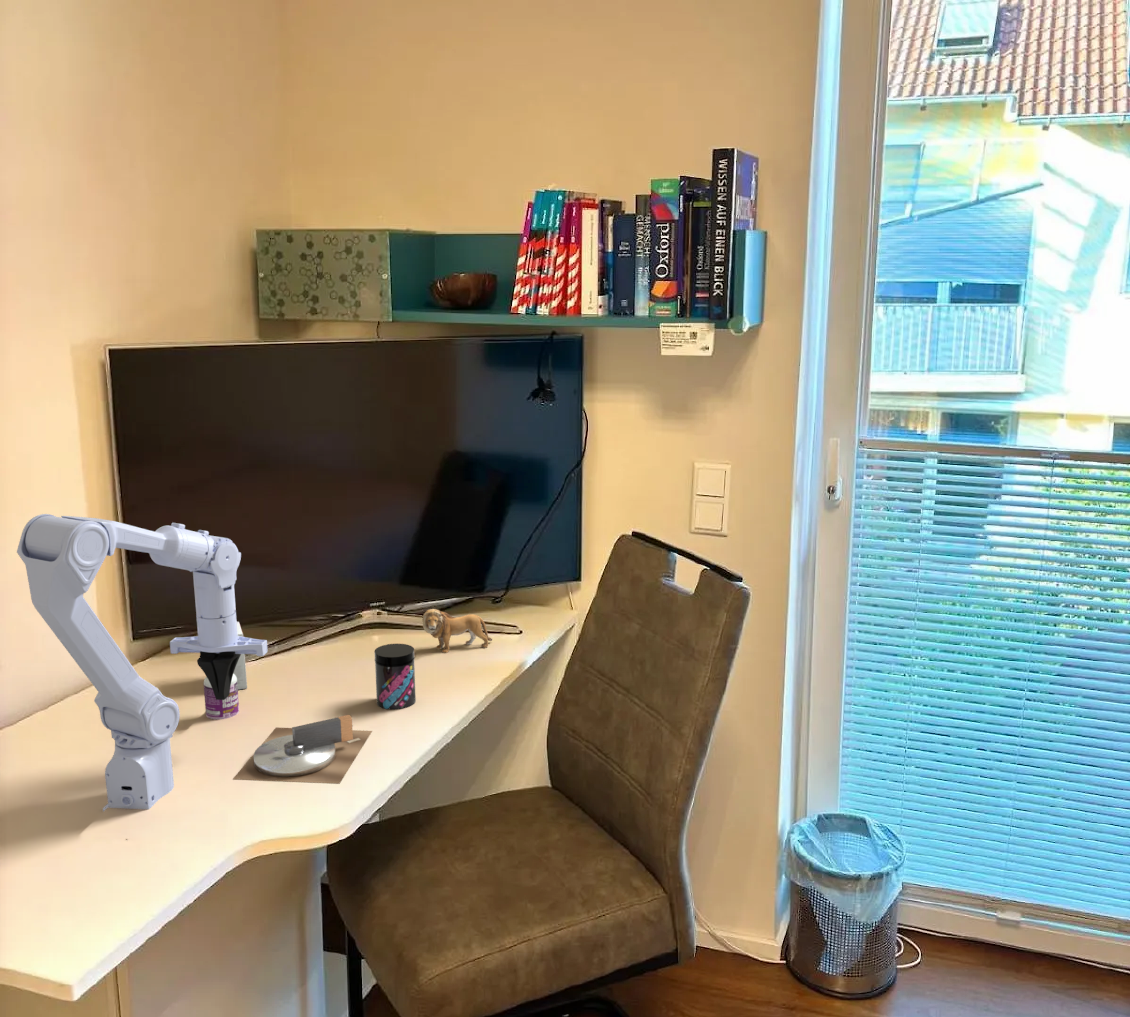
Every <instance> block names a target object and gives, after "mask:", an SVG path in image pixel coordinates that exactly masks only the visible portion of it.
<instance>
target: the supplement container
mask: <svg viewBox="0 0 1130 1017" xmlns="http://www.w3.org/2000/svg"><path fill="white" fill-rule="evenodd" d="M373 654H374V669H375V687H376V688H375V691H376V692H375V693H376V705H377V707H379V708H381V709H385V710H393V711H395V710H403V709H407V708H410V707H412V706H413V705H415V704H416V700H417V697H416V671H415V669H416V668H415V647H413V646H412V645H410V644H406V643H388V644H387V643H386V644H383V645H380V646H378V647H376V648H375V649H374V653H373Z"/></svg>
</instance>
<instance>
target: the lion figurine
mask: <svg viewBox="0 0 1130 1017" xmlns="http://www.w3.org/2000/svg"><path fill="white" fill-rule="evenodd" d="M421 619H422V620H421V621H422V627H423V630H424V632H426V633H427V634H429V635H430V636H432V638H434V639H438V644H439V645H437V646H436V650H441V649H442V651H441V652H442V653H443V654H447V653H449V651H450V642H451V641H450V640H451V637H453V636H460V635H463V634H464V633H466V632H467V631H468V632H469V635H470V638H469V640H466V641H465V644H466V645H472V643H473V642H474V641H475V640H476V638H479V639H481V640H482V641H483V642H484V643H482V644H481V648H484V649H486V648H488V646H489V642H492V641H493V638H491V637H490V636H489V634H488V630H487V626H486V623H485V621H484V619H483V618H482V617H480V616H479V615H477V614H473V613H472V614H471V613H469V614H465V615H462V616H456V617H454V616H451V615H450V614H449V613H447V612H444V611H441V610H440V609H437V608H432V609H431V608H430V609H427V610H426V611H425V612H424V613H423V616H422V618H421Z"/></svg>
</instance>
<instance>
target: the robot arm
mask: <svg viewBox="0 0 1130 1017" xmlns="http://www.w3.org/2000/svg"><path fill="white" fill-rule="evenodd" d="M209 534H210V532H209V531H208V530H202V529H198V530H197V531H193V530H190V529H186V525H185V524H183V523H176V522H172V523H171V525H163V526H161V527H159V528H157V529H156V530H155V531H154V530H149V529H147V528H141V527H138V526H135V525H131V524H127V523H124V522H118V521H115V520H111V519H110V520H109V519H103V518H98V517H97V518H96V517H87V516H85V517H84V516H74V515H73V516H70V515H61V517H60V516H56V515H54V514H49V513H42V514H38V515H35V516H33V517H32V518H30V520H28V522H26V524H25V526H24V528H23V530H22V532H21V535H20V539H19V541H18V546H17V549H16V553H17V555H18V557H20V559H21V560H22V562H23V564H24V565H25V570H26V575H27V580H28V581H27V582H28V586H29V593H30V599H31V602H32V605H33V607H34V609H35V610H36V611H37V613H38V614H39V615H40V617H41V618H42V619H43V621H44V623H46V625H47V626H48V627H49V629H50V630H51V632H53V634H54V635H55V637H56V638H57V639H58V640H59V642H60V643H61V644H62V646H63V647H64V649H65V650H66V651H67V652H68V654H69V655H70V657H72V659H73V661H74V662H75V663H76V664H77V665H78V667H79V668H80V670H82V672H83V674H84V675H85V676H86V677H87V678H88V680H89V681H90V683H91V684H92V686H93V687H94V688H95V689H96V691H97V694H96V695H95V698H94V699H93V701H94V703H95V705H96V706H97V707H98V710H99V716H100V721H101V723H102V725H103V726H104V727H105V728H106V729H107V730H110V733H111V734H110V735H111V739H113V740H114V752H113V755H112V757H111V759H110V760H109V761H108V763H107V765H106V767H105V769H104V777H105V786H106V797H107V804H106V805H104V806H103V808H102V812H106V810H107V809H108V808H109V809H110V808H111V809H129V810H130V809H131V810H133V809H135V810H150V809H151V808H152V807H153V806H154V805H155V804H156V803H157V802H158V801H159V800H160V799H162V798H163V797H165V796H166V795H168V794H169V793H170V792H172V791H173V790H174V787H175V783H174V782H175V781H174V769H173V759H172V750H171V749H172V748H171V747H172V746H171V738H173V734H174V733H175V731H176V729H177V727H178V725H179V722H180V717H181V714H180V712H181V711H180V708H179V705H178V703H177V702H176V701H175V700H174V699H172V698H171V697H168V696H167V697H166V696H165V695H164V694H162V692H161V690H159V688H158V687H156V686H155V685H153V684H152V683H151V682H149V681H147V680H145V679H144V678H143V677H141V676H140V675H139V673H138V672H137V671H136V669H135V668H134V666H133V665H132V663H130V661H129V659H128V658H127V657H126V654H124V652H123V651H122V650H121V648H120V647H119V645H118V644H117V642H116V641H115V639H114V638H113V637H112V636H111V634H110V633H109V631H108V630H107V628H106V627H105V626H104V625H103V623H102V622H101V620H100V619H99V617H98V615H97V614H96V613H95V611H94V610H93V609H92V607H91V606H90V605H89V603H88V601H87V599H85V598H84V594H86V593H87V592H88V591H89V589H90V587H91V585H92V583H93V581H94V580H95V578H96V576H97V574H98V573H99V571H100V569H101V567H102V565H103V563H104V561H105V559H106V557H112V556H114V554H115V551H116V549H123V550H128V551H135V552H141V553H148V554H149V557H150V558H151V560H152V561H153V562H154V563H155V564H156V565H159V566H164V567H167V568H169V567H170V568H173V569H180V570H185V571H189V572H190V573H192V576H193V577H192V578H193V588H194V590H193V591H194V600H195V601H194V602H195V612H196V613H195V614H196V615H195V616H196V627H197V635H196V636H195V635H194V636H184V637H174V638H173V639H172V640H170V641H169V648H170V654H175V655H176V654H178V653H192V654H193V653H196V654H197V653H198V654H199V658H198V659H196V663H197V666H198V667H199V668H200V669H201V671H202V672H203V673H204V675H205V676H206V677H207V678H208V680H209V682H210V684H211V687H212V689H213V692H214V695H215V698H216V700H225V699H226V698H227V697H228V696H229V694H230V686H231V681H232V677H233V673H234V670H235V667H236V665H237V662H238V660H239V658H240V656H241V654H245V655H256V656H257V657H264V656H265V655H266V654H267V653H268V640H267V639H258V638H252V637H246V636H243V637H241V636H238V634H237V622H238V621H237V610H236V608H237V607H236V595H235V594H236V593H235V584H236V581H237V570H238V568H239V566H240V563H241V558H242V552H240V551H239V549H238V547H237V545H236V544H235V543H234V542H233V540H231V538H228V537H223V536H214V535H209Z"/></svg>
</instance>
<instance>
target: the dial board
mask: <svg viewBox="0 0 1130 1017" xmlns="http://www.w3.org/2000/svg"><path fill="white" fill-rule="evenodd" d="M352 731H353V739H352V740H348V741H343V742H338V743H334V745H335V758H334V760H333V761H332V762H331V763H330V764H329V765H328V766H326V767H324V768H322V769H320V770H318V771H315V772H312V773H309V774H305V775H299V776H289V777H280V776H272V775H267V774H264V773H262V772H260V771H259V770H257V769H256V767H255V766H254V753H253V754H252V755H251V757H250V758H249V759H248V760H247V761H246V763H245V764H244V765H243V766H242V768H240V769H239V771H238V772H237V773H236V774H235V776H233V778H232V780H233V781H234V780H238V781H258V782H259V781H260V782H261V781H262V782H284V783H285V782H287V783H311V784H313V783H314V784H331V785H332V784H335V785H340V784H341V782H342V781H343V779H344V778H345V776H346V774H347V773H348V771H349V770H350V768H351V766H352V765H353V763H354V762H355V760H356V758H357V756H359V753H360V752H361V751H362V749H363V747H364V745H365V744H366V742H367V740H368V739H369V737H370V735H371V734H372V732H373V730H360V729H359V730H358V729H357V730H356V729H352ZM288 735H293V733H292V727H275V728H274V729H273V731H271V733H270V734H269V735H267V737H266V739H265V740H264V741H263V742H262V743H261V745H262V744H264V743H266V742H268V741H270V740H273V739H276V738H279V737H283V736H288Z"/></svg>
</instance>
